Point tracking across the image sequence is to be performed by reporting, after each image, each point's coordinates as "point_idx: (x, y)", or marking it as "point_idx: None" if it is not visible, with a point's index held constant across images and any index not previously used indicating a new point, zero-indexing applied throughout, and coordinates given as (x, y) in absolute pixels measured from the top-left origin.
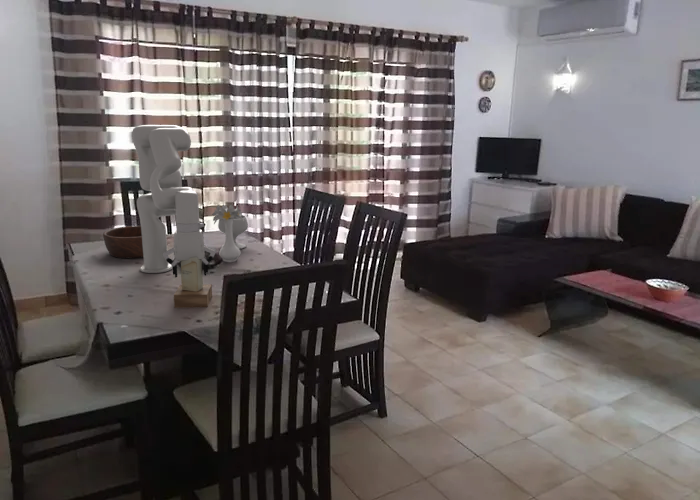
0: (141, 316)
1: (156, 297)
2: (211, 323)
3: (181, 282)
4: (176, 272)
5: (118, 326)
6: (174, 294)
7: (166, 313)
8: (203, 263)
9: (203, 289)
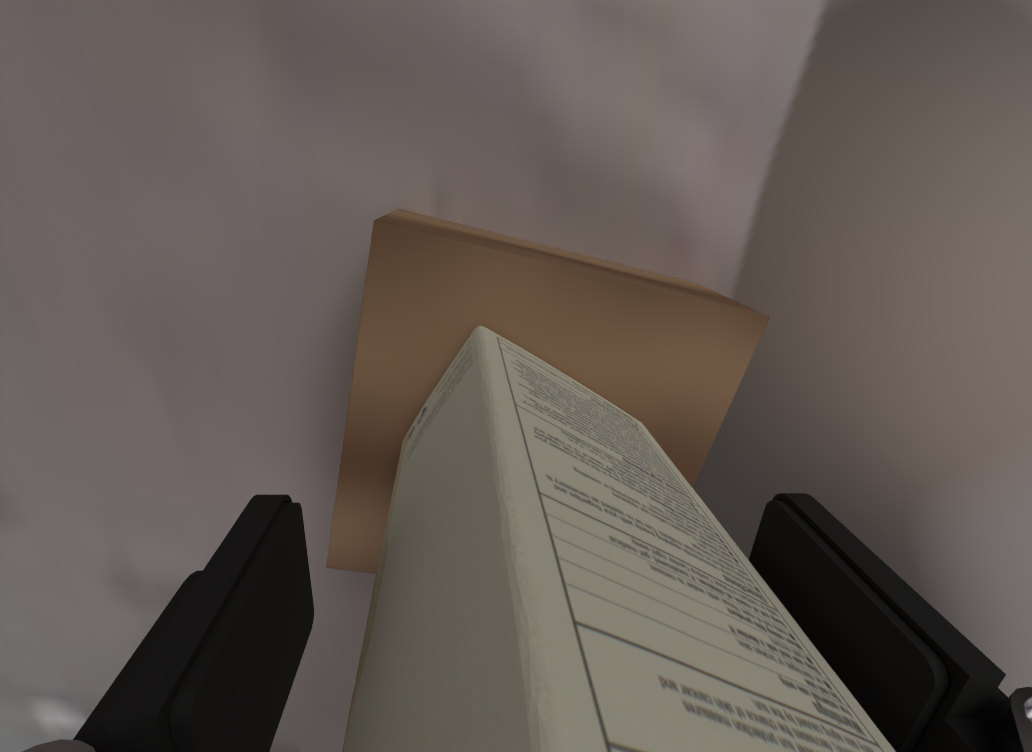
0: (122, 600)
1: (114, 149)
2: None
3: (393, 497)
4: (274, 705)
5: (17, 717)
6: (332, 552)
7: None
8: (921, 711)
9: None
